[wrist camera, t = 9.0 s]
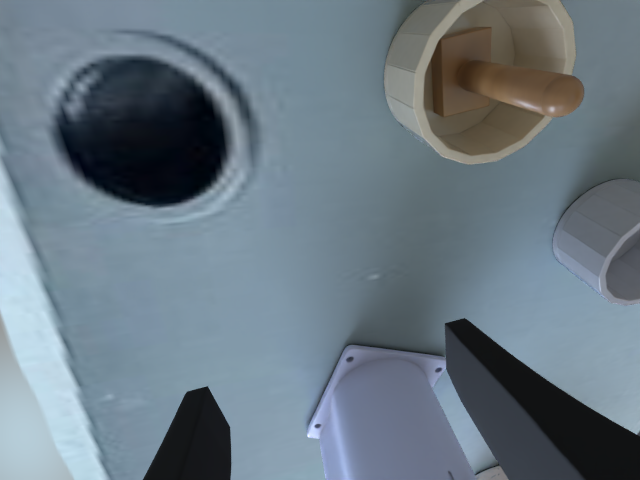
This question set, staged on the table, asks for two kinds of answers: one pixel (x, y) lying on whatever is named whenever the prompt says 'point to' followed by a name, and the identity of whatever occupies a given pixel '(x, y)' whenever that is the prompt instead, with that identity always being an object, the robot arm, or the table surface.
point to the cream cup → (506, 48)
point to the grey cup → (604, 240)
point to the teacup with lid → (492, 474)
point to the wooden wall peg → (494, 79)
